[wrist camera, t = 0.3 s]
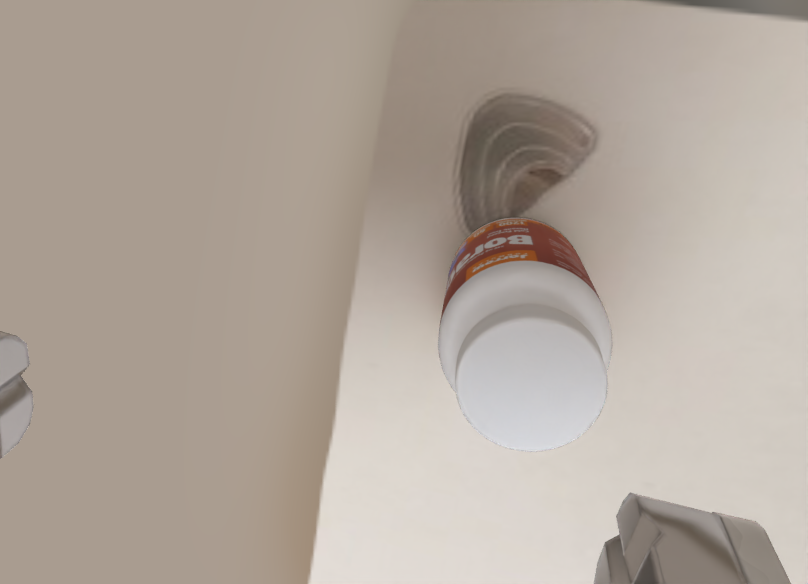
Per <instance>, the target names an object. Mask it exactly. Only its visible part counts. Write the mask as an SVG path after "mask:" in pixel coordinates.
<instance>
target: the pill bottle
mask: <svg viewBox="0 0 808 584" xmlns="http://www.w3.org/2000/svg"><path fill="white" fill-rule="evenodd" d="M438 350H439V357H440V362H441V366H442V369H443V372H444V374H445V376H446V378H447V380H448V382H449V384H450V386H451V387H452V388H453V390H454V391H455V392H456V395H457V399H458V402H459V405H460V408H461V410H462V412H463V414H464V416H465V417H466V419H467V420H468V422H469V423H470V424H471V425H472V427H473V428H474V429H475V430H476V431H477V432H478V433H480V434H481V435H482V436H484V437H485V438H486V439H488V440H490V441H492V442H494V443H495V444H498V445H500V446H503V447H506V448H509V449H513V450H518V451H527V452H537V451H546V450H551V449H555V448H558V447H561V446H563V445H566V444H568V443H570V442H572V441H574V440H575V439H577V438H579V437H580V436H581V435H582V434H583V433H585V432H586V431H587V430H588V429H589V428H590V427H591V426H592V424H593V423H594V422H595V421H596V419H597V418H598V416H599V415H600V413H601V411H602V409H603V406H604V404H605V400H606V397H607V389H608V379H607V370H608V367H609V364H610V360H611V354H612V332H611V327H610V323H609V319H608V316H607V314H606V311H605V309H604V306H603V304H602V302H601V300H600V298H599V296H598V294H597V292H596V290H595V288H594V286H593V284H592V282H591V280H590V278H589V276H588V274H587V272H586V270H585V268H584V266H583V264H582V262H581V260H580V258H579V256H578V255H577V253H576V251H575V249H574V248H573V246H572V245H571V244H570V243H569V241H568V240H567V239H566V238H565V237H564V236H563V235H562V234H561V233H560V232H558V231H557V230H555V229H554V228H552V227H550V226H549V225H547V224H544V223H542V222H539V221H536V220H532V219H527V218H505V219H500V220H496V221H493V222H490V223H488V224H486V225H484V226H482V227H480V228H479V229H477V230H476V231H474V232H473V233H472V234H471V235H469V236H468V237H467V238H466V239H465V240H464V242H463V243H462V244H461V246H460V247H459V249H458V250H457V252H456V254H455V256H454V259H453V261H452V264H451V267H450V271H449V275H448V282H447V288H446V293H445V299H444V304H443V310H442V316H441V321H440V328H439V339H438Z"/></svg>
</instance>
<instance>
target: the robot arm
mask: <svg viewBox="0 0 808 584" xmlns="http://www.w3.org/2000/svg"><path fill="white" fill-rule="evenodd" d="M29 364H30V363H29V356H28V349H27V344H26V343H25V342H24V341H23V340H21V339H20V338H19V337H18V336H16V335H12V334H9V333H5V332H2V331H0V458H2V457H3V456H4V455H6V454H7V453H8V452H9V451H10V450H11V449H12V448H14V446H16V445H17V444H18V443H19V441H20V440H21V438H22V436H23V435H24V433H25V431H26V430H27V428H28V426H29V425H30V421H31V417H32V412H33V394H32V391H31V390H30V388H29V387H28V385H27V384H26V382H25V381H24V380H23V378H22V377H21V374H22V373H23V372H24V371H25V370H26V369H27V367H28V366H29ZM616 517H617V522H618V528H619V533H620V534H619V535H618V536H616V537H614V538H612V539H610V540H609V541H607V542H605V544H604V547H603V549H602V552H601V555H600V557H599V560H598V563H597V568H596V574H595V580H594V584H791V583H790V581H789V578H788V576H787V574H786V572H785V570H784V568H783V566H782V564H781V562H780V560H779V558H778V556H777V554H776V552H775V550H774V548H773V546H772V544H771V542H770V539H769V537H768V535H767V533H766V531H765V530H764V528H763V527H761V526H760V525H759V524H758V523H757V522H756V521H752V520H747V519H743V518H738V517H734V516H729V515H725V514H721V513H716V512H712V513H710V512H706V511H702V510H698V509H694V508H690V507H686V506H682V505H678V504H674V503H670V502H666V501H662V500H658V499H654V498H650V497H646V496H642V495H638V494H634V493H629V495H628V496H627V497H626V498H625V499H624V501H623V502H622V505H621V507H620V509H619V511H618V514H617V516H616Z"/></svg>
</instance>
